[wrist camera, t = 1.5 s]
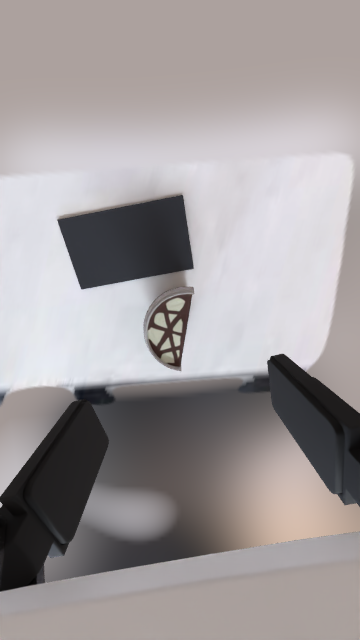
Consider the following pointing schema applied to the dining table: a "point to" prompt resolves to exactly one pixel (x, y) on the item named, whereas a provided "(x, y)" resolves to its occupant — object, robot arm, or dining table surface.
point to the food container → (168, 326)
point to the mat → (128, 242)
